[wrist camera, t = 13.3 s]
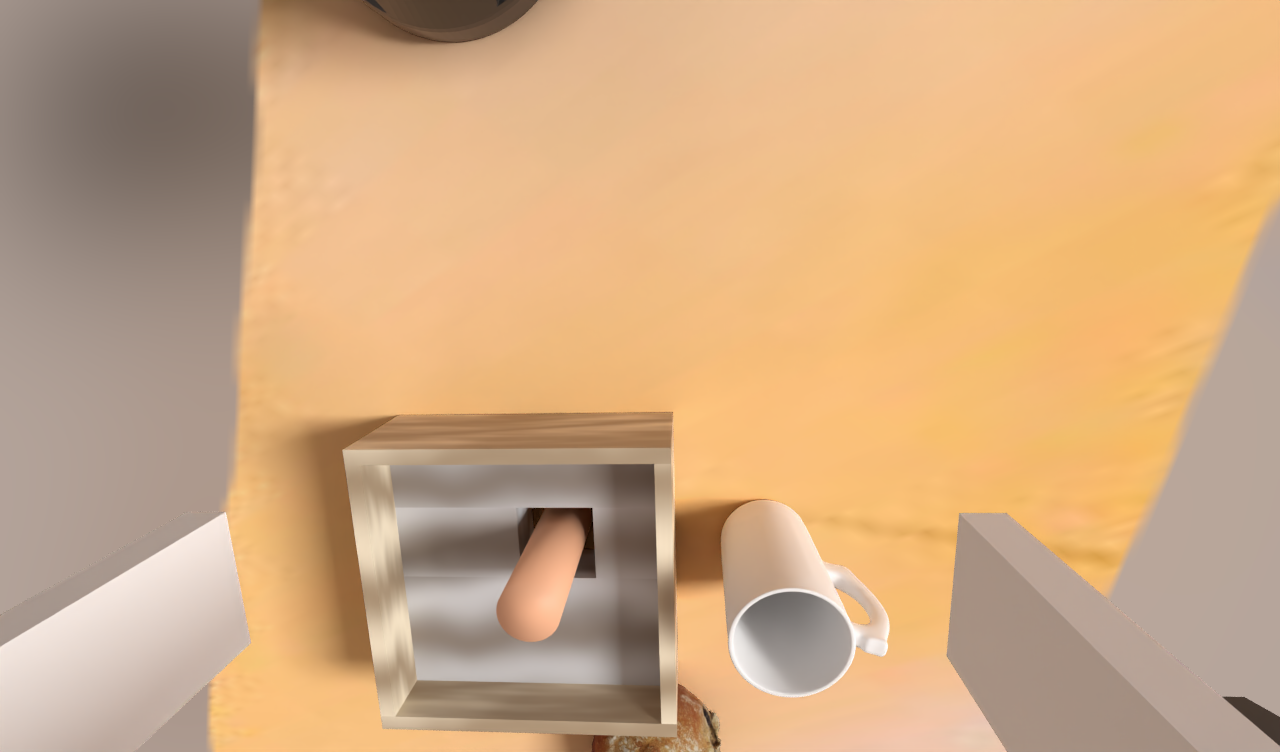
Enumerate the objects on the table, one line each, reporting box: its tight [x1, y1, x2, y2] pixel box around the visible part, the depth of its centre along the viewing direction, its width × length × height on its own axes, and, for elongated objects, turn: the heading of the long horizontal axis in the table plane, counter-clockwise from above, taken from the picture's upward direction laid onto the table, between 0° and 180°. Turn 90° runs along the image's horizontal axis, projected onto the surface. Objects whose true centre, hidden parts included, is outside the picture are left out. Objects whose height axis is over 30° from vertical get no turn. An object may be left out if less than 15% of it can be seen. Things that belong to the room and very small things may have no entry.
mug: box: [721, 500, 889, 697], centre depth 39 cm, size 10×7×12 cm, turn 79°
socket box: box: [342, 412, 678, 737], centre depth 42 cm, size 20×20×8 cm
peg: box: [496, 508, 592, 642], centre depth 40 cm, size 4×4×12 cm
